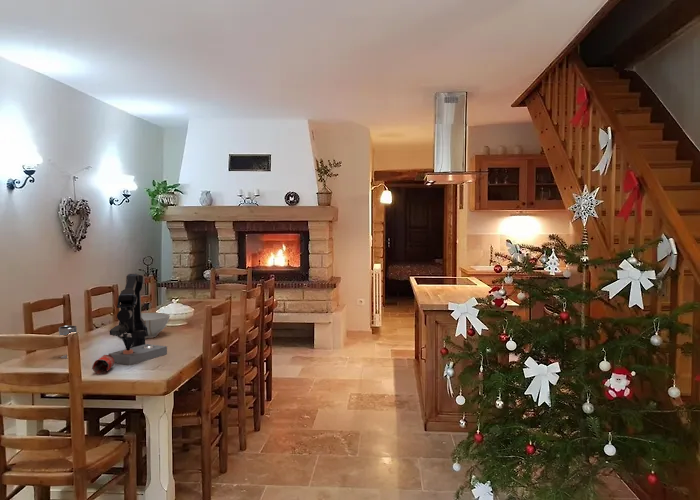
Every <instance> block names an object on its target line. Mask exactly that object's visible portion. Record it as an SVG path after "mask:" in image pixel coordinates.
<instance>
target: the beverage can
mask: <svg viewBox="0 0 700 500" xmlns="http://www.w3.org/2000/svg"><path fill="white" fill-rule="evenodd" d="M114 365H115V363H114V358H113V357H112V356H111V355H109V354H104V355H102V356H101V357H99V358H98V359H96V360H95V361H94V362H93V364H92V366H91V370H92V371H93V372H94V373H95V374H97V375H101V374H102V373H103V372H104V374H107V372H108V371H110V369H111V368H113V366H114ZM105 370H106V371H105Z"/></svg>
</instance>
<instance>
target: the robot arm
mask: <svg viewBox="0 0 700 500" xmlns="http://www.w3.org/2000/svg"><path fill="white" fill-rule="evenodd" d="M145 280H146V279H145V277H144V275H141V274H138V273H128V274H127V275H126V279H125V287H124V289H123V290H121V291H120V293H119V295H117V296H118V298H117V305H116V307H117V309H120V310H119V311H118V313H117V314H116V318H117V320H118V321H119V322H118V324H117V325H115V326H114V327H112V328H110V330H109V336H113V337H118V338H119V339H120V340H122V341H123V344H124V346H125V349H126V350H130V348H133V347H137V346H140V345H144V344H146V338H145V337H146V336H148V330H147V327H146V325H145V321H144V320H143V319H142V317H141V313H142V296H141V295H142V294H141V291H142V289H144V285H145Z"/></svg>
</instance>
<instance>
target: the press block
mask: <svg viewBox="0 0 700 500" xmlns="http://www.w3.org/2000/svg"><path fill="white" fill-rule="evenodd" d="M148 345H152V346H153V348H150V349H145V348H144V346H148ZM130 349H133V353H131V354H123V350H126V348H125V349H122V350H118V351H115V352H111V353H108V355H111V356H112V357H113V358H114V364H120V365H127V366H132V365H136V364H138V363H143V362H146V361H148V360H152V359H154V358H155V359H156V358H159V357H162V356H165V355H168V346H166V345H158V344H149V343H145V344H144V345H140V346H137V347H133V348H130Z"/></svg>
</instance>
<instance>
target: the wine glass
mask: <svg viewBox="0 0 700 500" xmlns="http://www.w3.org/2000/svg"><path fill="white" fill-rule="evenodd" d="M77 330H78V327H77V325H63V326H59V327H58V334H59V336H60V335H67V334H69V333H71V332H76V334H77V333H78V332H77ZM60 359H68V358H67V354H65V355H62V356H60Z"/></svg>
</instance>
